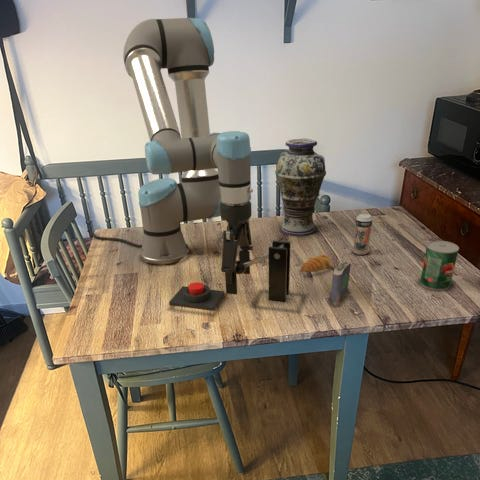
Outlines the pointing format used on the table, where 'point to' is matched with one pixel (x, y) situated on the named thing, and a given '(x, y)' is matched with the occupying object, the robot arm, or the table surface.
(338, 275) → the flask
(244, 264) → the switch lever
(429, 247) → the canned tomato
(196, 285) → the stop button
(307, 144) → the vase
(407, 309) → the table surface
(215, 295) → the stop box
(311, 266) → the pastry
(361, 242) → the spice shaker
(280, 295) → the switch bracket
